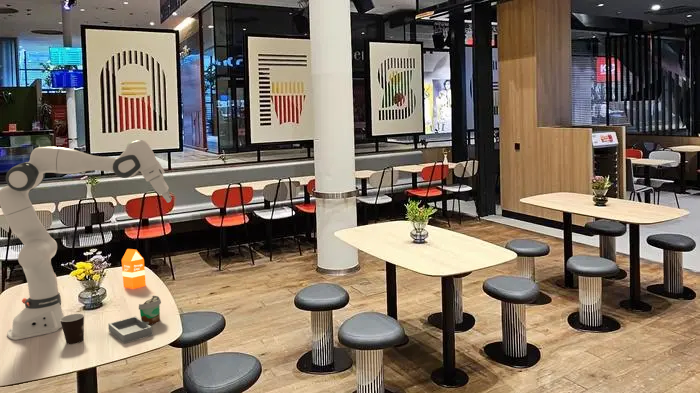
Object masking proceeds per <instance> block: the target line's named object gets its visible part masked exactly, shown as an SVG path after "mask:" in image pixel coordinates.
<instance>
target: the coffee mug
mask: <svg viewBox="0 0 700 393" xmlns="http://www.w3.org/2000/svg"><path fill="white" fill-rule="evenodd" d="M60 321H61V325H62V327H61V328H62V332H63V335H64V339H65V343H66V344H67V345H77V344H79V343H82V342H83V341H84V340H85V339H84V338H85V333H84V332H85V328H84V327H85V315H84V314H83V313H72V314H67V315H65V316H64V317H62V318H61V319H60Z"/></svg>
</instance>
